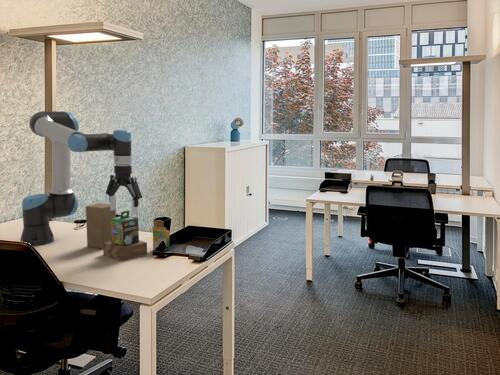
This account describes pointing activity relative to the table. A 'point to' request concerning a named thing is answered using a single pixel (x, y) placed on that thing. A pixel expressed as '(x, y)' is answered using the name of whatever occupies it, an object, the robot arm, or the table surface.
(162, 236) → the crayon box
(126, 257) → the walnut block
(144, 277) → the table surface
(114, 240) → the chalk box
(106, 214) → the wooden block
